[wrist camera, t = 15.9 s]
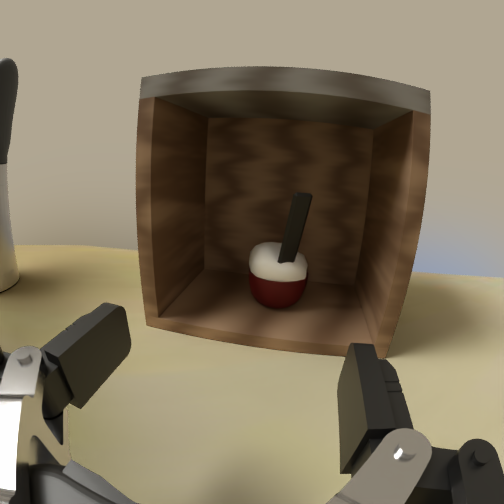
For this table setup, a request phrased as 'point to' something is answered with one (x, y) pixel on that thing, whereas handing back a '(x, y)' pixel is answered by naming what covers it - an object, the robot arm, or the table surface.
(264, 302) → the cream-topped red cup
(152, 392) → the table surface
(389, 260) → the under counter cubby
